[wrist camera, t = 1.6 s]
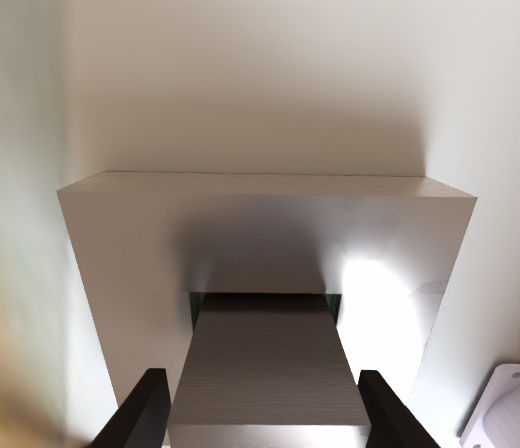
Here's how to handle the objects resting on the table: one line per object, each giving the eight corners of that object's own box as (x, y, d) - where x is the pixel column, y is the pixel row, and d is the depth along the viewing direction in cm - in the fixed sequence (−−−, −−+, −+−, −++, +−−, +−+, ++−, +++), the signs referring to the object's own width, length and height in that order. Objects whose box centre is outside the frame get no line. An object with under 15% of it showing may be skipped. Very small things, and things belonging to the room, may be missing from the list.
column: (313, 264, 14) (371, 425, 7) (305, 339, 15) (343, 524, 9) (213, 262, 13) (166, 424, 7) (218, 338, 15) (185, 523, 8)
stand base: (426, 176, 12) (548, 225, 7) (369, 392, 17) (414, 507, 12) (104, 171, 12) (-11, 217, 7) (150, 391, 17) (105, 506, 12)
